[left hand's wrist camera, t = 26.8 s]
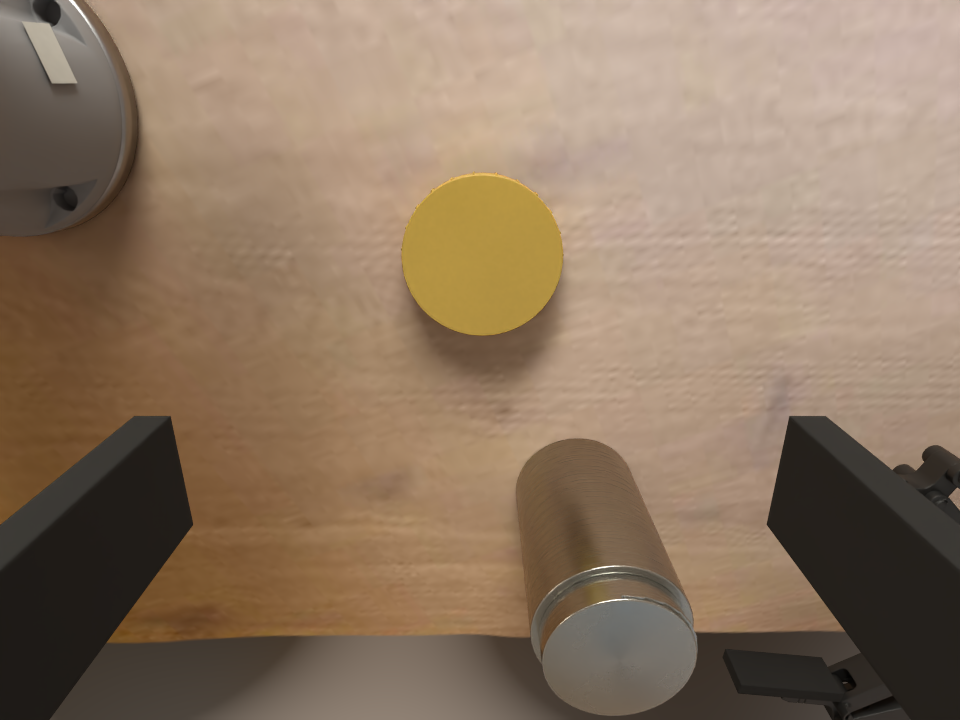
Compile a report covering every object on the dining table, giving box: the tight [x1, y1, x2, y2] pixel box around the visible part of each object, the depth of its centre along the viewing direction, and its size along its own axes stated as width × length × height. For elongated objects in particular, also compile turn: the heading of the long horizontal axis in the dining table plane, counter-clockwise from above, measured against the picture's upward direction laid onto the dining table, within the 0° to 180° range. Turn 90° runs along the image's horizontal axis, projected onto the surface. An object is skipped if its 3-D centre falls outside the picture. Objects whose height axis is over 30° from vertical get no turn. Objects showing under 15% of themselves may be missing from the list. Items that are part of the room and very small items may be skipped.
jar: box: [516, 439, 698, 716], centre depth 36 cm, size 9×9×15 cm
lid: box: [401, 172, 563, 336], centre depth 36 cm, size 10×10×2 cm
